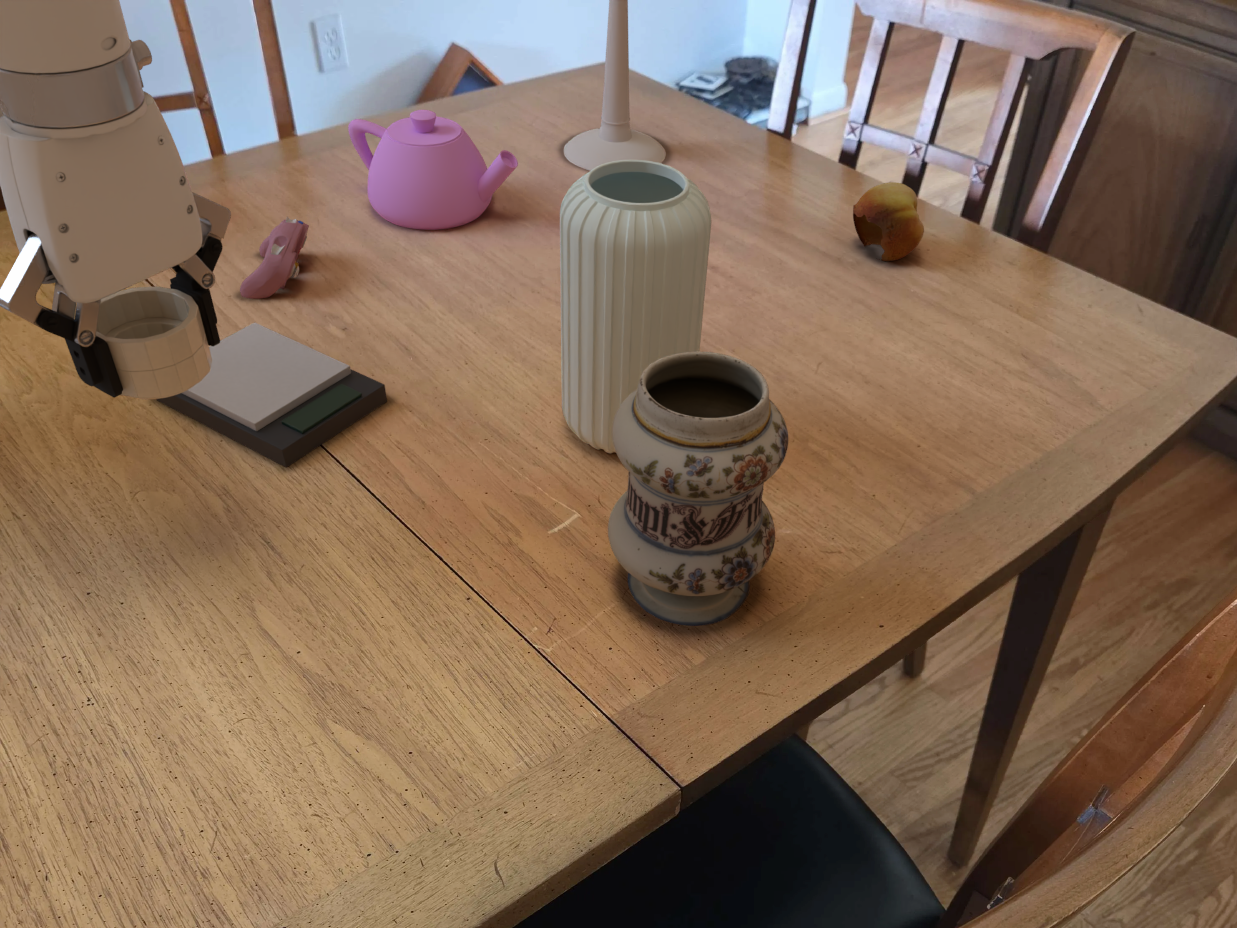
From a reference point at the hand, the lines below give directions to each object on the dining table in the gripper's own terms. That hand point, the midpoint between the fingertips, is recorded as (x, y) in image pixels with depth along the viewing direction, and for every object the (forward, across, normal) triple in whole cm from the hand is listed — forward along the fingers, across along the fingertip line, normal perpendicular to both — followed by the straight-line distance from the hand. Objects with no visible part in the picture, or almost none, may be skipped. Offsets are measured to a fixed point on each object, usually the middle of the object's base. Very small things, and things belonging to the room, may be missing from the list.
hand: (154, 361), depth 74 cm
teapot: (+16, -53, -24) cm, 60 cm away
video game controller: (+16, -31, -26) cm, 43 cm away
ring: (+1, 0, 0) cm, 1 cm away
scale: (+16, -15, -9) cm, 23 cm away
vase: (+16, -32, +17) cm, 39 cm away
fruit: (+15, -76, +20) cm, 80 cm away
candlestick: (+16, -78, -18) cm, 81 cm away
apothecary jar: (+15, -18, +33) cm, 40 cm away
